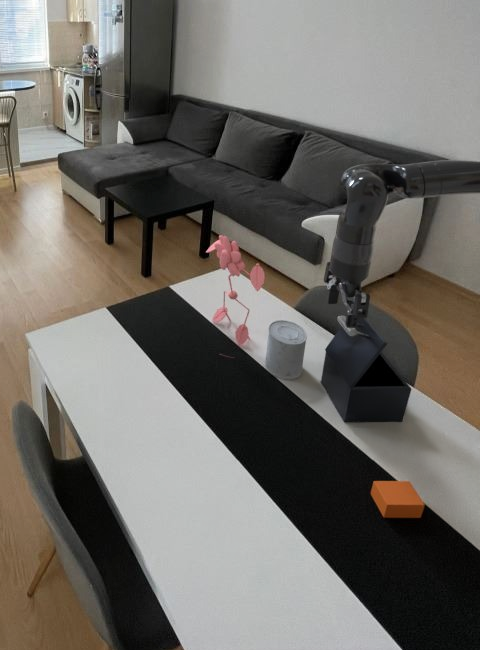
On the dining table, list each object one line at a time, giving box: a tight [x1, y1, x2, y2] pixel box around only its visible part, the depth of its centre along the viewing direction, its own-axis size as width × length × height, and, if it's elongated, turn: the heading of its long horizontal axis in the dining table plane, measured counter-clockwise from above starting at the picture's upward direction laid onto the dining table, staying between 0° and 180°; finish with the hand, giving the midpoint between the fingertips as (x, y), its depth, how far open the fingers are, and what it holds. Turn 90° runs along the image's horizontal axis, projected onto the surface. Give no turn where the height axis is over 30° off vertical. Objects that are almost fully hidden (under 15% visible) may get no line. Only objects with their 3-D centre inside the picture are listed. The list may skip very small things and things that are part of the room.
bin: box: [320, 351, 412, 424], centre depth 107 cm, size 14×12×11 cm
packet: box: [370, 480, 426, 519], centre depth 86 cm, size 7×5×4 cm, turn 87°
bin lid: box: [324, 315, 388, 388], centre depth 103 cm, size 14×12×6 cm
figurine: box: [205, 234, 266, 359], centre depth 128 cm, size 15×26×35 cm, turn 19°
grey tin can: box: [264, 319, 308, 380], centre depth 119 cm, size 10×10×12 cm
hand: (340, 314), depth 100 cm, fingers open, 8 cm apart
